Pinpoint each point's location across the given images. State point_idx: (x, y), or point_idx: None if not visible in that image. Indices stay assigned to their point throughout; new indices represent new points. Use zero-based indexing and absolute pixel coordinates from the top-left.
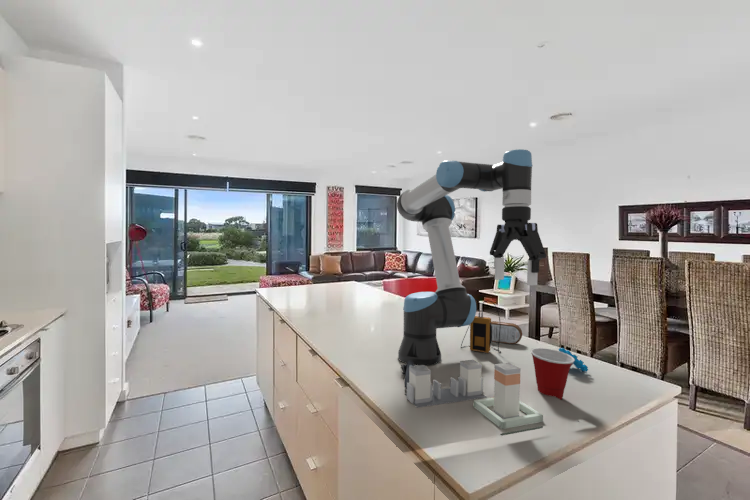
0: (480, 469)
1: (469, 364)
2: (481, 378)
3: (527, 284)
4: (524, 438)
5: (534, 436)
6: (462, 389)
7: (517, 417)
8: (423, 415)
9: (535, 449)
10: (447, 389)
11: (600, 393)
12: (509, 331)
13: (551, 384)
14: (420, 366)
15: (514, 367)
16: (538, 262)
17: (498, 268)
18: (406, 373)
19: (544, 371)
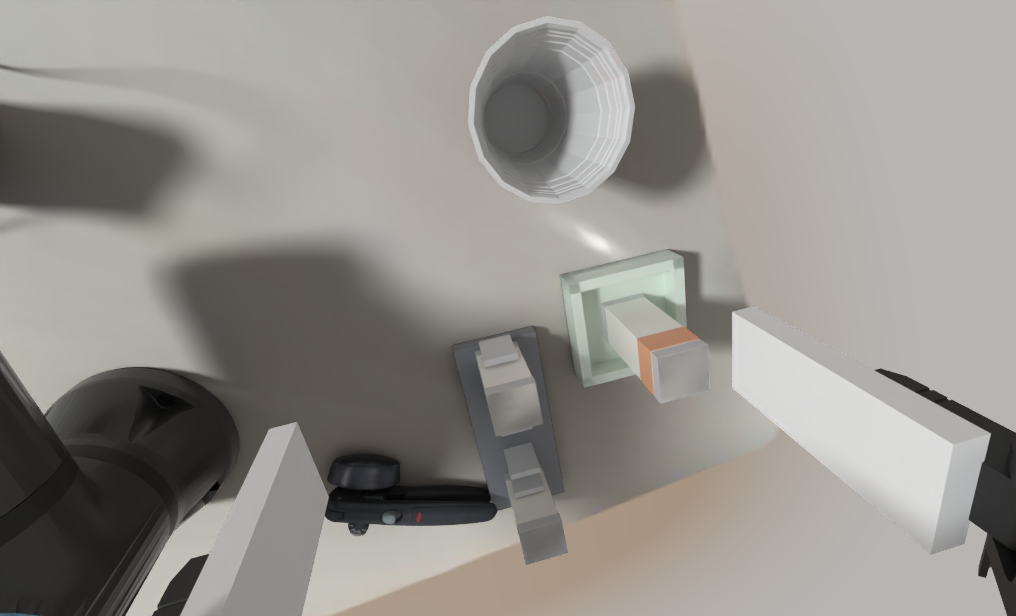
0: (746, 414)
1: (530, 417)
2: (517, 357)
3: (741, 389)
4: (692, 308)
5: (691, 284)
6: None
7: (680, 321)
8: (569, 471)
9: (728, 305)
10: (476, 416)
11: None
12: None
13: (568, 144)
14: (529, 540)
15: (697, 358)
16: (1009, 440)
17: (292, 578)
18: (429, 525)
19: (569, 169)
